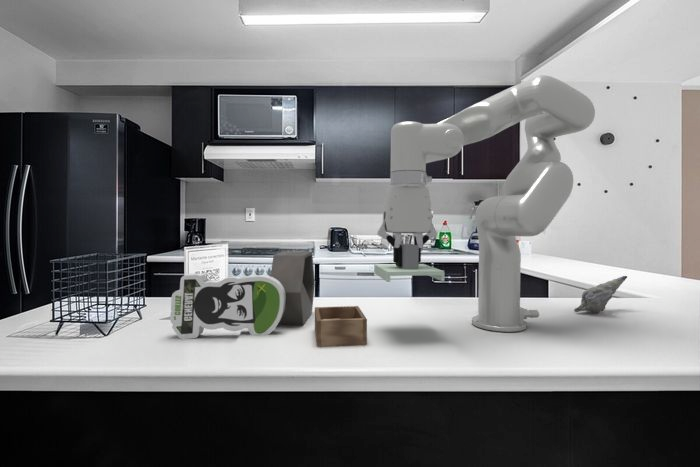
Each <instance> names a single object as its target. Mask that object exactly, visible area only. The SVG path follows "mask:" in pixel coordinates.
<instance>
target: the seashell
mask: <svg viewBox="0 0 700 467" xmlns="http://www.w3.org/2000/svg"><path fill="white" fill-rule="evenodd" d="M627 278H628V276H627V275H622V276H619V277H617V278H613V279H612V280H608V281H606V282H603V283H599V284H598V285H596V286H592V287H589V288H587V289H586V290H584V291H583V292H582V294H581V300H580V305H579V306H577V307H576V308H574V309H573V312H574V313H579V312H585V311H587V312H590V313H592V314H593V313H594V314H599V313H600V312H604V310H605V309H606V306H607V304H608V303H609V301H610V300H611V299H612V298H613V295H614V294H615V293H616V292H617V290H618V289H619V288H620V287H621V285H622V284H623V283H624V282H625V280H627Z"/></svg>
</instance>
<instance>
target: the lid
mask: <svg viewBox="0 0 700 467" xmlns="http://www.w3.org/2000/svg"><path fill="white" fill-rule="evenodd" d="M400 245H401V248H402V266H401V267H398V266H396V263H390V264H389V263H386V264H385V263H383V264H382V263H381V264H379V263H378V264H374V266H373V268H374V272H373V273H374V274H375V275H377V276H378V277H379V278H381V279H383V280H384V281H385V282H387V283H391V277H393V276H394V277H395V276H396V277H399V276H400V277H401V276H403V277H405V276H406V277H407V276H413V277H414V276H429V277H431V278H433V279H435V280H437V281H441V282H445V275H446V274H445V270H441V269H439V268H437V267H433V266H430V265H428V264H425V263H419V266H418V261H419V246H418V245H414V243H413V244H411V243H400Z"/></svg>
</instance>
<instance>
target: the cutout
mask: <svg viewBox="0 0 700 467" xmlns="http://www.w3.org/2000/svg"><path fill="white" fill-rule="evenodd" d="M170 299H171V300H170V301H171V303H170V315H169V321H170V323H171V324H172V326H171V327H172V329H173V331H174V332H175V334H176V335H177V337H178V338H179V339H181V340H183V339H184V340H185V339H186V340H187V339H189V340H190V339H197V338H198V337H199V336H201V335H202V334H203V333H204V330H205V329H206V330H210V331H211V330H212V331H213V330H218V329H224V330H226V331H230V332H237V331H243V330H245V329H248V333H249V334H250V335H251V336H252V335H253V336H268V335H270V334H271V333H272V332H273V331H274V330H275V328H277V326H279V325H278V323H279V322H280V320H281V318H282V316H283V313H284V310H285V302H286V295H285V290H284V288H283V286H282V284H281V283H280V282H279V281H278V280H277V279H275V278H273V277H270V275H266V274H257V275H245V276H238V275H233V276H228V277H226V278H223V279H222V280H220V279H219V280H216V279H214V280H213V279H212V280H209V278H208V277H207V276H206V274H204V273H201V272H200V273H187V274H185V275H182V276H181V277H180V282H179V289H178V290H175V291H173V292H172V295H171V298H170Z"/></svg>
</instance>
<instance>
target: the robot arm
mask: <svg viewBox="0 0 700 467" xmlns="http://www.w3.org/2000/svg"><path fill="white" fill-rule="evenodd" d="M595 116H596V110H595V106H594V103H593V102H592V100H591V99H590V98H589V97H588V96H587V95H585V94H584V93H583V92H581V91H579V90H577V89H575V88H574V87H572V85H571V86H570V85H569V84H568V83H565V82H564V81H562V80H560V79H558V78H555V77H553V76H549V75H542V74H541V75H538V76H535V77H533V78H531V79H527V80H525V81H523V82H520V83H517V84H515V85H513V86H511V87H508V88H506V89H504V90H502V91H500V92H498V93H496V94H493V95H491V96H489V97H487V98H485V99H483V100H481V101H479V102H476V103H474V104H472V105H470V106H468V107H466V108H464V109H463V110H461V111H459V112H457V113H454V115H452V116H449V117H448V118H446V119H443V120H441V121H438V122H437V123H421V122H419V121H411V120H410V121H401V122H397V123H395V124H394V125H393V126H392V128H391V129H390V182H389V183H390V186H388V187H386V190H385V193H384V194H385V195H384V203H383V209H382V210H383V212H382V222H381V225H380V227H379V229H378V230H377V234H376V235H378V237H381V238H382V239H383V240H386V241H387V242H388V243H389V244H390V246H392V248H393V249H392V250H393V254H392V255H393V259H392V261H393V263H395V264H396V266H398V267H401V266H402V248H401V245H400V244H401V241H402V234H412V237H413V245H418V246H419V261H418V266H419V264H420V263H421V262H422V252H421V251H422V248H423V247H424V245H425V244H426V243H427V242H428V241H429V240H431V239H433V238H434V237H436V236H437V235H438V232H437V230H436V227H435V226H434V224H433V214H432V213H433V211H432V203H431V195H430V190H429V187H427V184H428V183H430V184H431V183H432V182H433V177H432V175H431V176H430V175H427V174H428V173H427V172H426V171H427V169H426V166H427V164H430V163H433V162H437V161H442V160H447V159H450V158H453V157H454V156H456V155H458V154H459V153H460V152H461V150H462V149H463V146H466V145H470V144H475V143H477V142H481V141H483V140H485V139H489V138H491V137H494V136H495V135H496V134H499V133H500V132H502V131H504V130H506V129H508V128H509V127H513V126H514V125H516V124H518V123H520V122H522V121H524V133H525V137H526V142H527V150H526V152H525V153H524V155H523V156H522V157H521V159H519V161H518V163H517V164H516V165H515V167H514V168H513V169H512V170H511V172H510V173H509V174H508V175H507V177H506V179H505V181H504V183H503V187H502V190H503V195H495V196H491V197H488V198H486V199H484V200H482V201H481V202H480V203H479V204H478V205H477V207H476V209H475V210H476V211H475V214H474V219H475V226H476V232H477V238H478V296H477V298H478V302H477V304H478V305H477V306H478V307H477V308H478V310H477V314H478V315H474V316H472V318H471V324H472V325H473V326H475V327H477V328H479V329H482V330H487V331H492V332H501V333H502V332H503V333H504V332H506V333H514V332H522V331H524V330H526V329H527V325H528V323H527V321H525V320H527V319H528V318H530V319H534V318H535V319H536V318H537V319H538V318H539V317H540V312H539V310H538V309H529V310H528V308H523V307H521V263H522V262H521V260H522V259H521V258H522V256H521V255H522V254H521V248H520V246H519V243H518V241H517V238H516V237H535V236H538V235H540V234H542V233H544V231H545V230H546V229H547V228H548V226H550V224H551V223H552V222H553V220H554V219H555V217H556V216H557V215H558V214H559V212H560V210H561V209H562V208H563V206H564V204H566V202H567V200H568V199H569V198H570V195H571V193H572V190H573V189H574V188H573V186H574V174H573V171H572V170H571V168H570V167H569V165H567V163H564V162H563V161H561V159H562V157H561V153H560V150H559V149H558V147H557V145H556V142H555V139H554V138H556V137H557V138H558V137H562V136H566V135H570V134H575V133H579V132H582V131H584V130H586V129H587V128H589V127H590V126H591V125H592V124H593V122H594V119H595ZM389 233H391V234H392V235H390V234H389Z"/></svg>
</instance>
